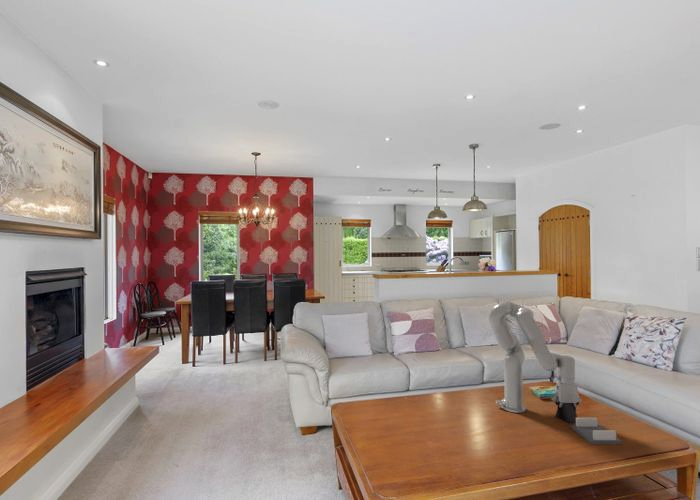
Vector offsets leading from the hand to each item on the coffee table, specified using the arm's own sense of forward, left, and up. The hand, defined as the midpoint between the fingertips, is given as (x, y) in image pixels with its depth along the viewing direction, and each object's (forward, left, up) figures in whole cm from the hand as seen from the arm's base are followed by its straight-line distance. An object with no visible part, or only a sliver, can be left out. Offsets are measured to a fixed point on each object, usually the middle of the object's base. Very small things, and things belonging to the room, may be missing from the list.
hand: (566, 413), depth 198 cm
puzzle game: (+8, +32, -4) cm, 33 cm away
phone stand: (0, 0, -3) cm, 3 cm away
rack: (+4, -17, -3) cm, 18 cm away
